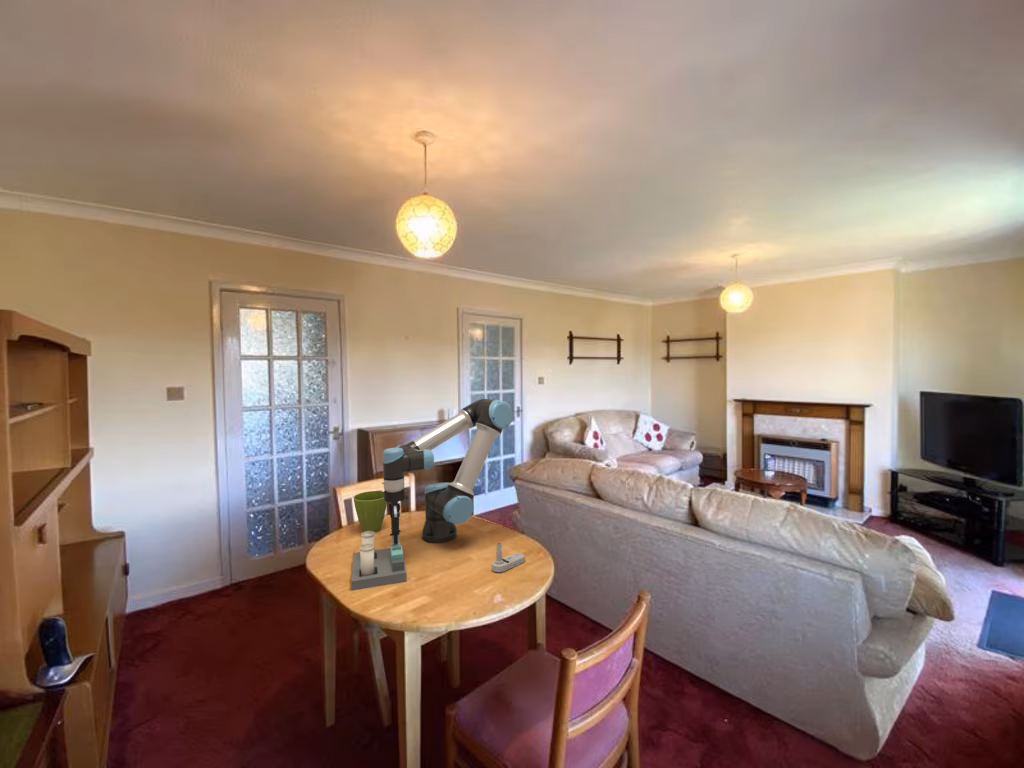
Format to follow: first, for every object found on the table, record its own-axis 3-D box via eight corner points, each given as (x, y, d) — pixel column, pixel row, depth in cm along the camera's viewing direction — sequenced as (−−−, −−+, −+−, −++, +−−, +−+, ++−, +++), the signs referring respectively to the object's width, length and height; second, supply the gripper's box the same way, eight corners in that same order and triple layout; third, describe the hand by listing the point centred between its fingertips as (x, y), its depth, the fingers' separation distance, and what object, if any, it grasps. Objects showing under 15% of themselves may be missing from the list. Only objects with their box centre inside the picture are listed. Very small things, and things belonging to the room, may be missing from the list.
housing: (401, 553, 178) (401, 538, 177) (406, 581, 155) (406, 564, 155) (353, 560, 172) (353, 545, 172) (351, 590, 149) (350, 572, 149)
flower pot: (387, 534, 198) (386, 499, 197) (352, 538, 195) (351, 501, 194) (389, 523, 213) (388, 489, 212) (356, 526, 209) (355, 492, 209)
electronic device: (527, 536, 169) (498, 547, 158) (527, 562, 169) (498, 574, 158) (517, 533, 173) (488, 543, 162) (517, 558, 173) (488, 570, 162)
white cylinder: (375, 560, 172) (374, 530, 171) (375, 566, 167) (374, 534, 166) (362, 562, 170) (361, 531, 170) (361, 568, 166) (360, 536, 165)
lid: (401, 553, 170) (401, 541, 170) (403, 564, 160) (403, 551, 160) (390, 555, 168) (390, 542, 168) (392, 566, 159) (391, 553, 159)
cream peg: (374, 575, 159) (373, 542, 159) (375, 581, 155) (374, 547, 154) (360, 578, 157) (359, 545, 157) (361, 584, 153) (360, 550, 152)
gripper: (383, 486, 174) (384, 545, 175) (384, 495, 161) (386, 559, 162) (403, 484, 176) (404, 543, 177) (405, 493, 164) (407, 556, 165)
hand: (395, 550), depth 170 cm, fingers closed
